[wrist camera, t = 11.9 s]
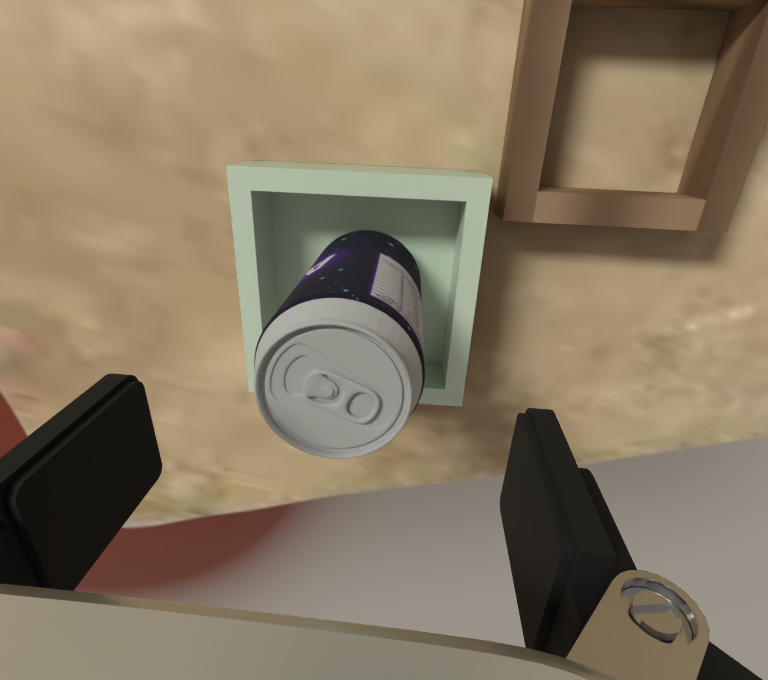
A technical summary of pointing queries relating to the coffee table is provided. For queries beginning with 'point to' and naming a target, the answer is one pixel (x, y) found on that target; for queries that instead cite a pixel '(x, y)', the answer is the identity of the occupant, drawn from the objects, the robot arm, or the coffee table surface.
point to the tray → (364, 212)
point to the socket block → (708, 150)
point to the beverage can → (345, 350)
